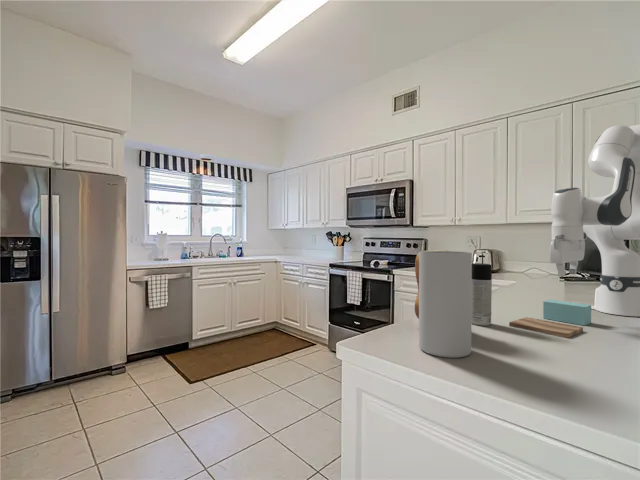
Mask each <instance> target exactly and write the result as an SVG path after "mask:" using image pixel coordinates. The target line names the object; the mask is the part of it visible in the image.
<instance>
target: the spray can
mask: <svg viewBox="0 0 640 480" xmlns="http://www.w3.org/2000/svg"><path fill="white" fill-rule="evenodd" d="M492 270H493V265H492V264H490V263H479V262H478V263H475V262H474V263H473V262H472V314H471V325H475V326H479V327H480V326H483V327H484V326H491V324H492V295H493V294H492V293H493V291H492V283H493V275H492V274H493V273H492V272H493V271H492Z"/></svg>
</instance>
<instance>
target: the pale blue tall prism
mask: <svg viewBox="0 0 640 480" xmlns="http://www.w3.org/2000/svg"><path fill="white" fill-rule="evenodd" d="M542 303H543V304H542V305H543V306H542V307H543V308H542V309H543V311H542V312H543V314H542V315H543V317H542V318H543V319H545V320H552V321H555V322H556V321H558V322H564V323H568V324H573V325H574V324H575V325H580V326H587V325H590V324H591V323H592V309H591V306H592V304H585V303H578V302H570V301H562V300H556V299H549V300H548V299H547V300H544V301H543V302H542Z"/></svg>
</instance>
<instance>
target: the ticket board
mask: <svg viewBox="0 0 640 480" xmlns="http://www.w3.org/2000/svg"><path fill="white" fill-rule="evenodd" d="M508 324H509V327H513V328H516V329H517V328H518V329H523V330H528V331H533V332H536V333H541V334H547V335H551V336H556V337H561V338H566V339H569V338H571V337H573V336H575V335H578V334H581V333H583V331H584V327H583V326H582V327H581V326H577V325H574V324H573V325H571V324H567V323H560V322H556V321H555V322H554V321H549V320H546V319H545V320H544V319H540V318H539V319H538V318H533V317H527V316H526V317H522V318H519V319H515V320H513V321H509V323H508Z"/></svg>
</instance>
